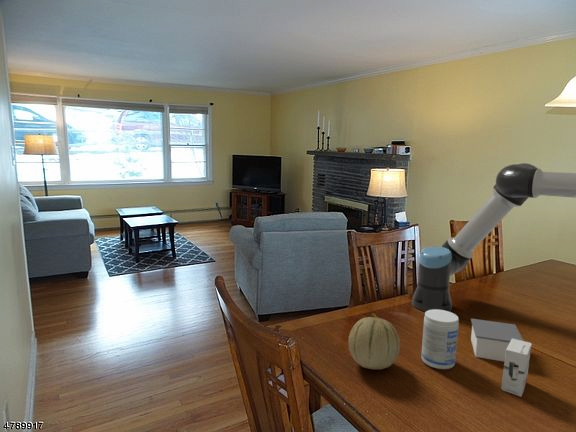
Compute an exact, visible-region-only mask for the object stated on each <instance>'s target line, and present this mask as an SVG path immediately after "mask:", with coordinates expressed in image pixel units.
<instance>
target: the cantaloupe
mask: <svg viewBox="0 0 576 432" xmlns="http://www.w3.org/2000/svg"><path fill="white" fill-rule="evenodd" d="M400 348H401V340H400V336H399V334H398V331H397V330H396V328H395V327H394V325H392V323H391V322H389V321H388V320H386V319H384V318H382V317H381V318H380V317H378V316H377V315H376V314H375V313H371V316H368V317H362V318H360V319H359V320H358V321H357V322H356V323H355V324H354V325H353V326H352V327H351V330H350V332H349V336H348V349H349V353H350V355H351V357H352V358H353V360H354V361H355V362H356V363H357V364H358V365H360V367H362V368H364V369H369V370H384V369H387V368H389V367H391V366H392V365H393V364H394V363H395V362H396V360H397V359H398V357H399V354H400V351H401V349H400Z"/></svg>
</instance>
